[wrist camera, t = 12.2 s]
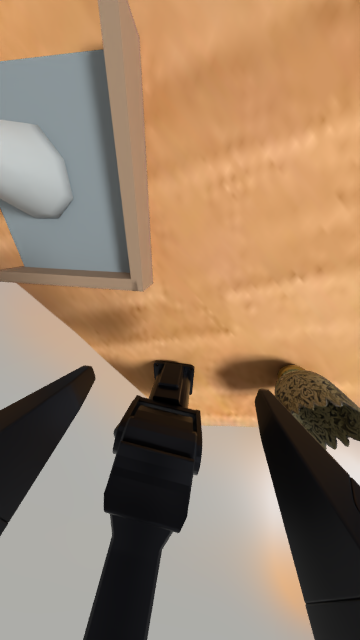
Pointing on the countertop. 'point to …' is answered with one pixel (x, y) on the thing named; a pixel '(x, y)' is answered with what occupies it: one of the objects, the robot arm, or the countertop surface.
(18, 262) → the countertop surface
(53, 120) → the corner arena
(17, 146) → the flask
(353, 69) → the countertop surface
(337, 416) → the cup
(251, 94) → the countertop surface
